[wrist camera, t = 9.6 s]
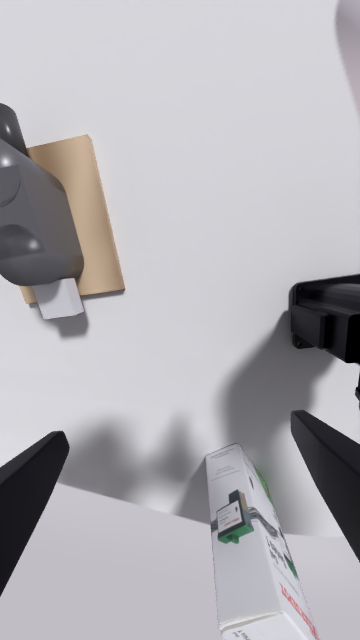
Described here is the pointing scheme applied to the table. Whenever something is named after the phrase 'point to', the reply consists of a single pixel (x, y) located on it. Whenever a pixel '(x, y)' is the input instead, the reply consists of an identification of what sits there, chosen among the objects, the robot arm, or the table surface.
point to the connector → (36, 227)
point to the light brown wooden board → (83, 212)
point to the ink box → (251, 556)
